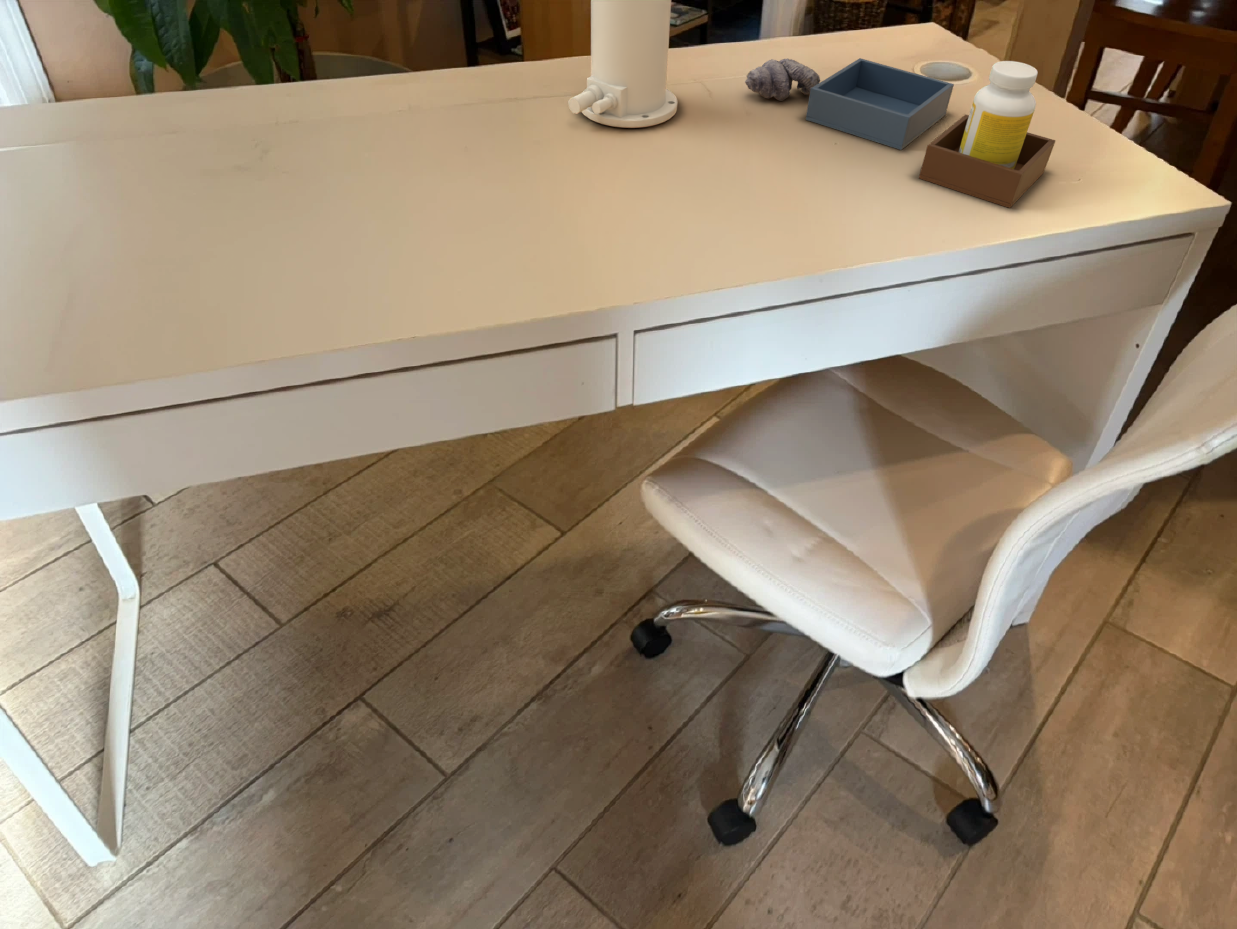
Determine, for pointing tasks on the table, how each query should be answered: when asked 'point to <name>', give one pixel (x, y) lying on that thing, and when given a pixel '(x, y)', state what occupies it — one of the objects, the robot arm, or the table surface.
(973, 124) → the pill bottle
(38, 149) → the table surface
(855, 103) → the blue bin
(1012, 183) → the brown bin
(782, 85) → the grey lumpy piece
